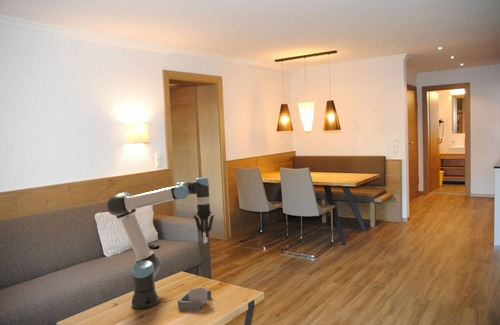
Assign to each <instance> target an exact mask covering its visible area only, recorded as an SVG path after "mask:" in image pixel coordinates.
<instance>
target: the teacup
mask: <svg viewBox="0 0 500 325" xmlns="http://www.w3.org/2000/svg"><path fill="white" fill-rule="evenodd" d="M191 289H192V290H190V289H189V290H190V291H189V290H188V291H187V292H188V298H189V300H188V301H189V302H200V307H203V306H204V305H205V304H207V302H208V298H207V290H208V288H207V286H204V287H196V288H191Z"/></svg>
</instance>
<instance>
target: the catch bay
mask: <svg viewBox="0 0 500 325" xmlns="http://www.w3.org/2000/svg"><path fill="white" fill-rule="evenodd" d="M192 289H193V288H190V289H189V290H188V291H190V290H192ZM188 291H187V292H186V293H185V294H184V295H182V297H181V298H180V299H179V300H178V301H177V307H178V308H177V309H178V310H181V311H182V310H183V311H196V312H200V311H201V306H200V302H189V298H188ZM207 299H212V289H211V290H210V289H207Z"/></svg>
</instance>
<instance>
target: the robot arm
mask: <svg viewBox="0 0 500 325" xmlns="http://www.w3.org/2000/svg"><path fill="white" fill-rule="evenodd" d="M189 195H196V204H197V205H196V209H197V210H196V211H197V212H196V213H195V214H194V215H193V218H194V220H195V223H196V227H197V230H198V232H201V237H202V238H203V240H202V241H203V244H207V243H208V238H209V232H210V231H212V228H213V223H214V218H215V216H216V215H215V214H213V213H212V212H211V204H210V203H211V200H210V184H209V178H208V177H197V178H195V180H194V181H180V182H179V181H178V182H176V183H175V185H174V186H170V187H164V188H161V189H158V190H153V191H148V192H143V193H140V194H136V195H132V194H130V193H128V192H119V193H116V194H115V195H113V196H111V197H109V198H108V200H107V201H106V210H107V212H108V213H109V214H110V215H112V216H114V217H115V216H116V219H117V220H118V221H121V224H122V226H123V228H124V230H125V233H126V235H127V237H128V240H129V243H130V245H131V247H132V249H133V252H134V254H135V256H136V257H135V260H134V261H135V263H134V264H133V266H132V269H131V273H132V281H133V284H132V285H133V293H132V294H133V295H132V299H131V307H132V308H133V309H135V310H146V309H148V310H149V309H151V308H154V307H156V306H158V305H159V303H160V297H159V295H158V293H157V291H156V285H155V278H156V277H157V274H159V272H160V270H161V265H162V263H161V260H160V258H159V257H158V256H156V254H155V252H154V251H153V250H151V249H150V247H149V245H148V242H147V240H146V238H145V236H144V233H143V230H142V227H141V226H140V222H139V221H138V218H137V216H136V212H137V209H141V208H146V207H150V206H155V205H158V204H163V203H167V202H171V201H176V200H183V199H186V198H187V197H188V196H189Z"/></svg>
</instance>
